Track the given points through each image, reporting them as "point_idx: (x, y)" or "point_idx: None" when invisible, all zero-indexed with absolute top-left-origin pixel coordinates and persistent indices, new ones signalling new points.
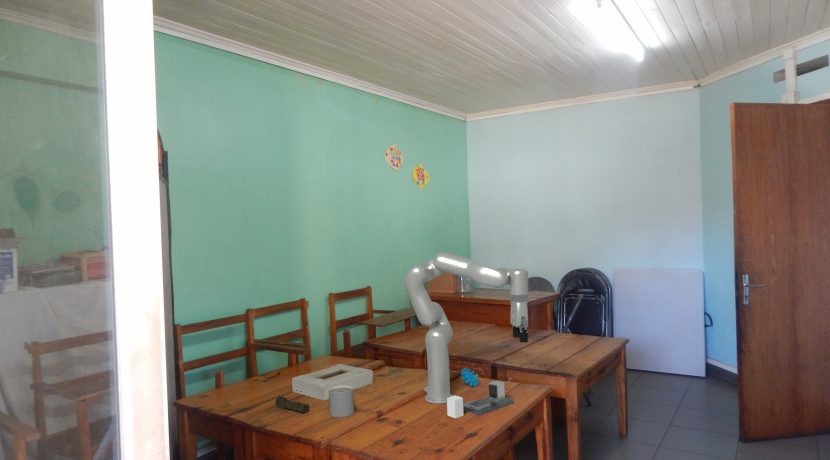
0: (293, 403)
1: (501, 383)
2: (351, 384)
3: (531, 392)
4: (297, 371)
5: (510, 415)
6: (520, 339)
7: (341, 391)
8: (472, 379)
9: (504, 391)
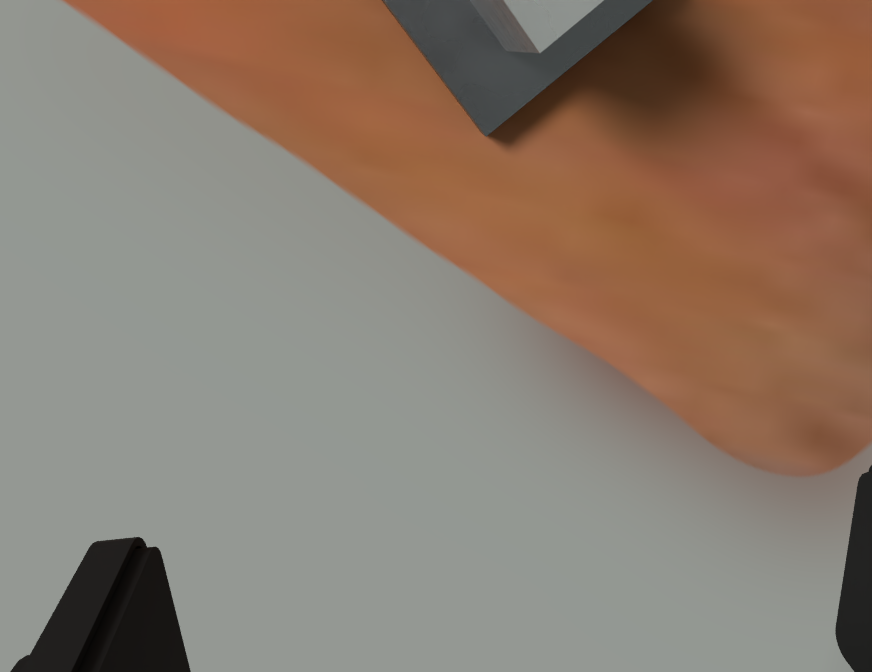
0: None
1: (510, 6)
2: None
3: (727, 350)
4: None
5: (141, 26)
6: (68, 608)
7: None
8: None
9: (518, 49)
